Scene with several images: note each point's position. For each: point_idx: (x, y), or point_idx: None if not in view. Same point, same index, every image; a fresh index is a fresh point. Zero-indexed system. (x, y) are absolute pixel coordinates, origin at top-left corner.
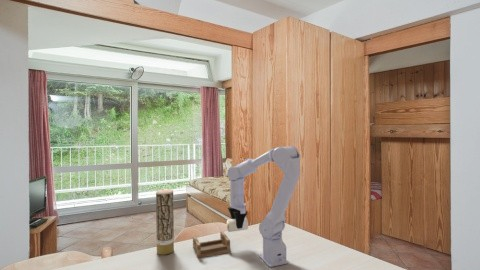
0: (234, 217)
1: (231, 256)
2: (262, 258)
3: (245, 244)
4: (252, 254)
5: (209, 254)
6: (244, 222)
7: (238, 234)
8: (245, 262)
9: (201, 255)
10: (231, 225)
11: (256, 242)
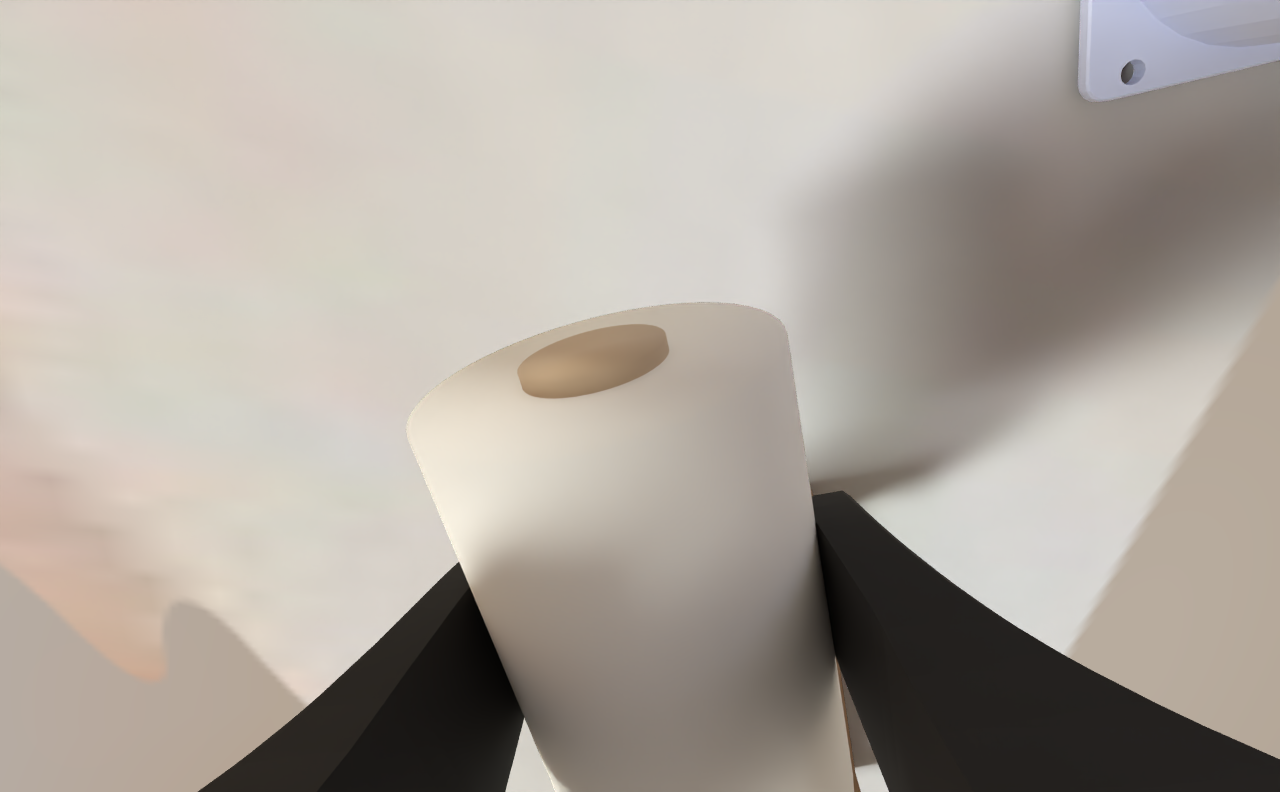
0: (465, 772)
1: (926, 480)
2: (1242, 66)
3: (593, 246)
4: (968, 197)
5: (842, 695)
6: (791, 485)
7: (192, 299)
8: (1160, 338)
9: (851, 760)
10: (852, 780)
11: (532, 30)
